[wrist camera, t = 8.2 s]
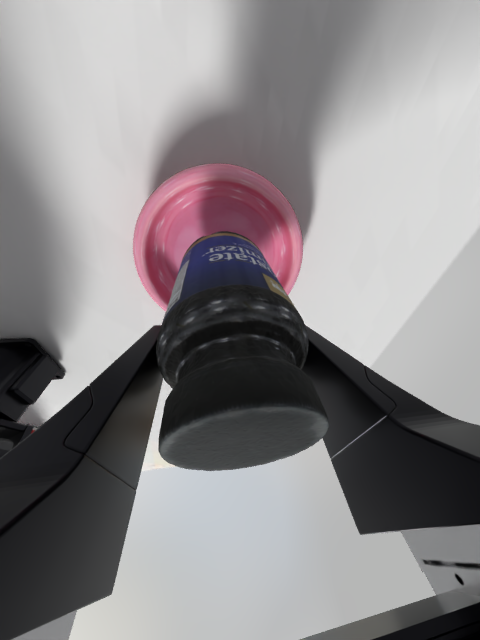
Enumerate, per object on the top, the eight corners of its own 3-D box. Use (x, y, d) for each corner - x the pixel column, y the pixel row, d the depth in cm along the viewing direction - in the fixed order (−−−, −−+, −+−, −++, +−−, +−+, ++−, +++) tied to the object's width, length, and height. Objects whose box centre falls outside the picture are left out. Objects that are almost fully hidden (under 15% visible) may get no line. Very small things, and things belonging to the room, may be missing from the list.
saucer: (246, 325, 22) (251, 344, 19) (131, 288, 17) (119, 307, 15) (318, 222, 16) (339, 231, 13) (168, 114, 11) (156, 98, 8)
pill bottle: (279, 249, 13) (414, 400, 4) (244, 315, 16) (284, 472, 8) (191, 212, 11) (133, 365, 2) (172, 296, 14) (119, 485, 6)
